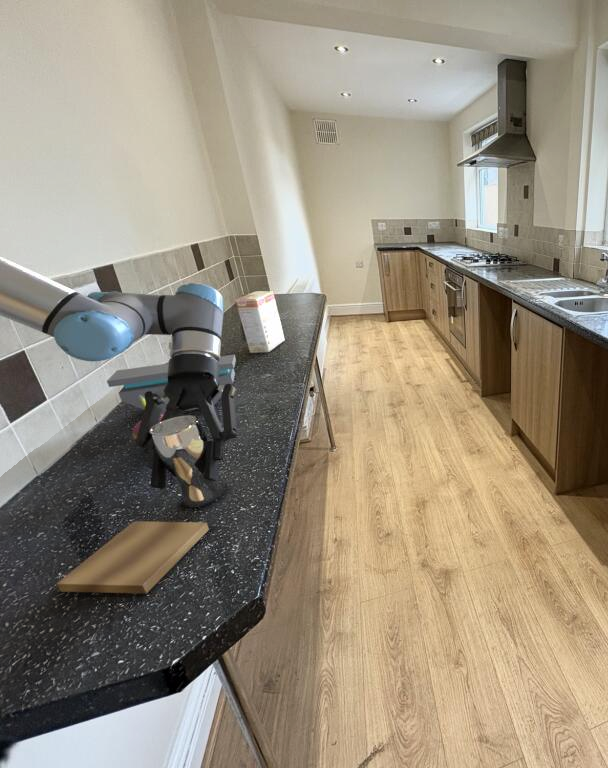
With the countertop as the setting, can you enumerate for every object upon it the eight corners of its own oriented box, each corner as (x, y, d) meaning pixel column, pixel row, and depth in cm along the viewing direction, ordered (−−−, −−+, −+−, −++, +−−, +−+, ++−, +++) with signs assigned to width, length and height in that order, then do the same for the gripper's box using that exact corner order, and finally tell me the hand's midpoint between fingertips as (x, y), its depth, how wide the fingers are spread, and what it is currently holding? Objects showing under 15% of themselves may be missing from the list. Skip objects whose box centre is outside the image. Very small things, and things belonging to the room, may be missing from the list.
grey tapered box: (244, 390, 117) (234, 354, 113) (243, 400, 111) (232, 363, 107) (133, 409, 106) (116, 370, 102) (124, 422, 100) (106, 381, 96)
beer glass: (222, 479, 78) (195, 410, 72) (231, 496, 74) (203, 423, 68) (177, 496, 74) (145, 424, 68) (184, 515, 69) (150, 439, 63)
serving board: (60, 591, 56) (55, 583, 55) (137, 528, 67) (133, 521, 66) (146, 593, 55) (142, 585, 55) (209, 529, 66) (206, 522, 66)
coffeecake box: (266, 340, 161) (254, 291, 153) (285, 340, 162) (274, 290, 154) (248, 353, 148) (234, 299, 140) (269, 352, 148) (256, 298, 141)
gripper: (261, 364, 82) (259, 477, 74) (145, 374, 77) (129, 496, 69) (246, 346, 75) (241, 469, 68) (117, 356, 71) (96, 490, 63)
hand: (184, 483), depth 69 cm, fingers closed on beer glass, 7 cm apart
